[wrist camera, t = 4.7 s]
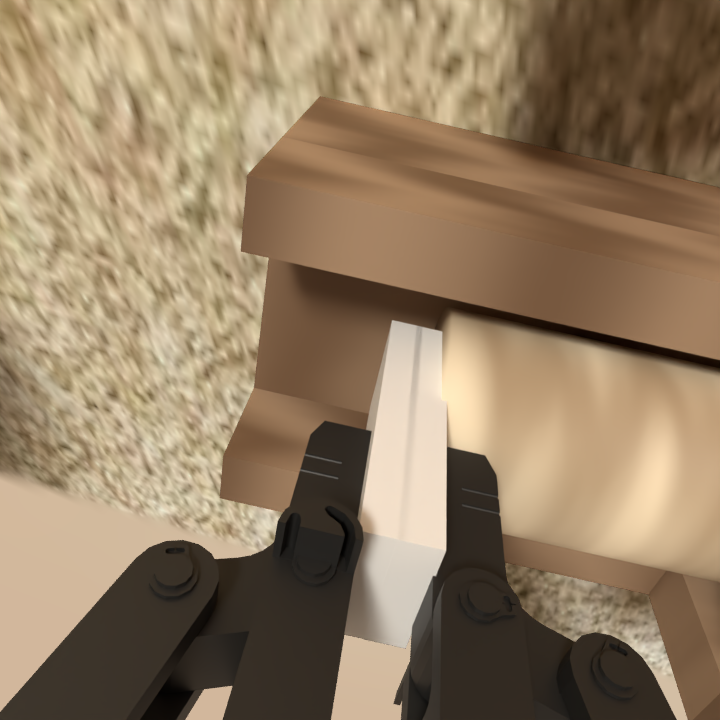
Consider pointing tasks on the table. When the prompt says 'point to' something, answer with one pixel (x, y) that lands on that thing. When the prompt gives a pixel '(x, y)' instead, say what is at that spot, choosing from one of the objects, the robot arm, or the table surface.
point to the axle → (589, 440)
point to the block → (468, 298)
